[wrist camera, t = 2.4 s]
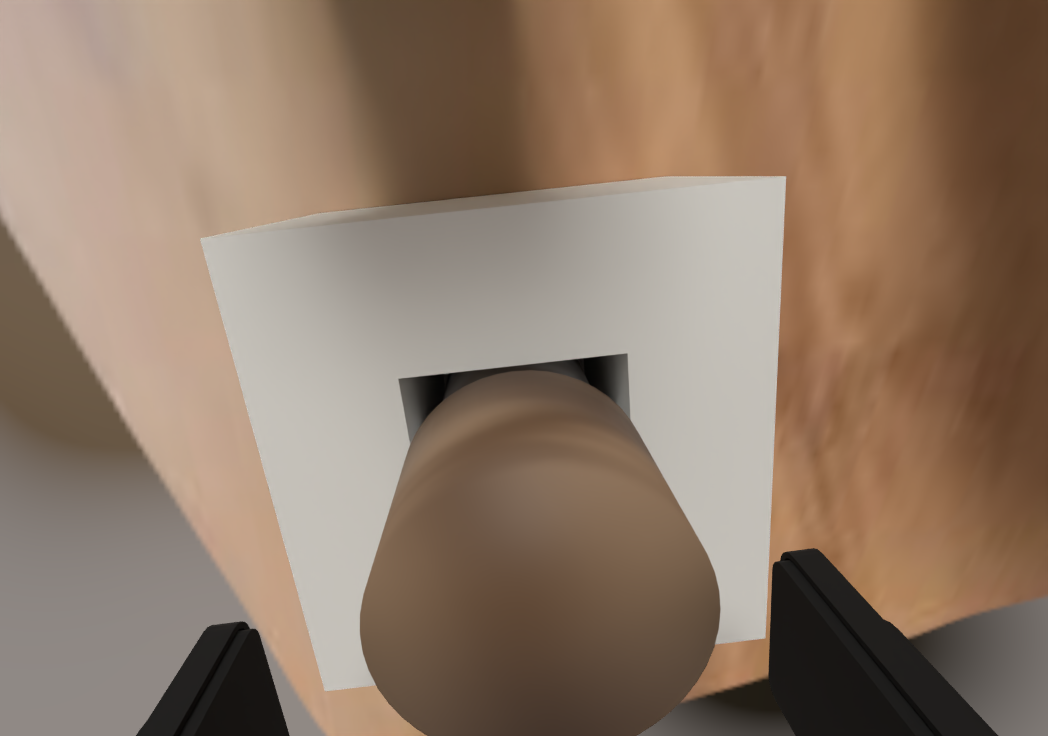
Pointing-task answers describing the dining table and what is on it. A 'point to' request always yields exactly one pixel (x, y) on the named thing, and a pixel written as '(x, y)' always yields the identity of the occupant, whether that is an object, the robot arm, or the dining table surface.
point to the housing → (508, 358)
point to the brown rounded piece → (535, 568)
